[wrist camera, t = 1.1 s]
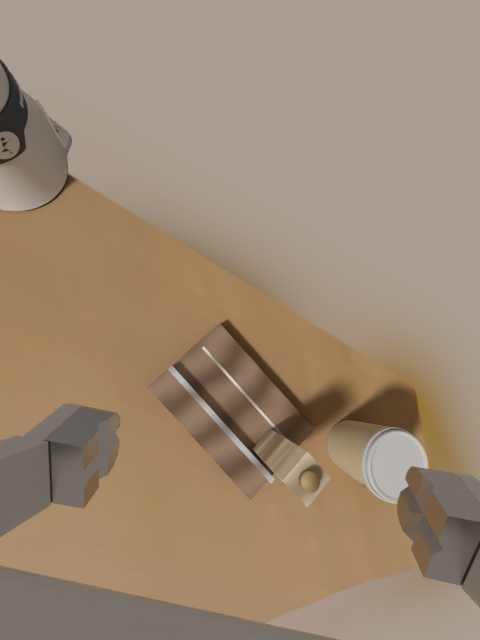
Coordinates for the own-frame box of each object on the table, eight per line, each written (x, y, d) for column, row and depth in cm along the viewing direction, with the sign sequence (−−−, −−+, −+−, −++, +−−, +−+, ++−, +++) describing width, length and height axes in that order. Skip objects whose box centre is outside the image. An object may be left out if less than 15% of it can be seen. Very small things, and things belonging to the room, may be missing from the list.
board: (148, 386, 46) (146, 387, 42) (218, 325, 49) (221, 321, 46) (247, 494, 46) (252, 504, 43) (308, 426, 50) (318, 430, 47)
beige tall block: (252, 449, 45) (285, 483, 32) (274, 425, 47) (316, 448, 33) (270, 468, 45) (311, 511, 32) (292, 444, 47) (340, 475, 33)
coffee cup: (330, 481, 49) (378, 516, 38) (316, 423, 50) (358, 439, 39) (379, 464, 52) (439, 492, 40) (364, 408, 53) (419, 420, 41)
